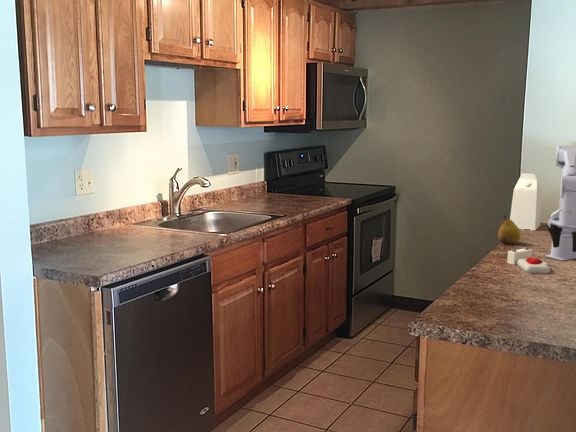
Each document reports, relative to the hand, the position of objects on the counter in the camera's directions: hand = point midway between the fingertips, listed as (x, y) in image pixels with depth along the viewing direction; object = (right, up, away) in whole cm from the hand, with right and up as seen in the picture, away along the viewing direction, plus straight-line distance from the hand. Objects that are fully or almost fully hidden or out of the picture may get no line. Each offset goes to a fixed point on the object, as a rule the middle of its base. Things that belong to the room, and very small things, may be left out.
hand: (565, 249), depth 222 cm
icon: (-7, -8, +10) cm, 15 cm away
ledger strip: (-9, -6, +20) cm, 23 cm away
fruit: (-2, 0, +52) cm, 52 cm away
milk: (+18, +6, +88) cm, 90 cm away
